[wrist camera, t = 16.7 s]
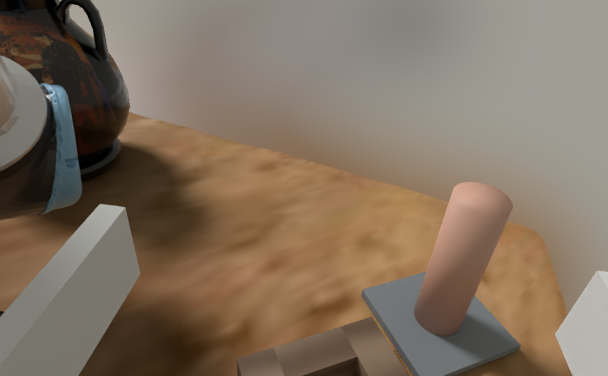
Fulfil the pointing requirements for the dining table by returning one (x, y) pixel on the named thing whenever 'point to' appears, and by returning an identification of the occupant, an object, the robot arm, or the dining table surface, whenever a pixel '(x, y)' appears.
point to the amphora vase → (71, 72)
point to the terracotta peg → (461, 255)
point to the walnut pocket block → (328, 355)
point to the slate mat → (429, 347)
